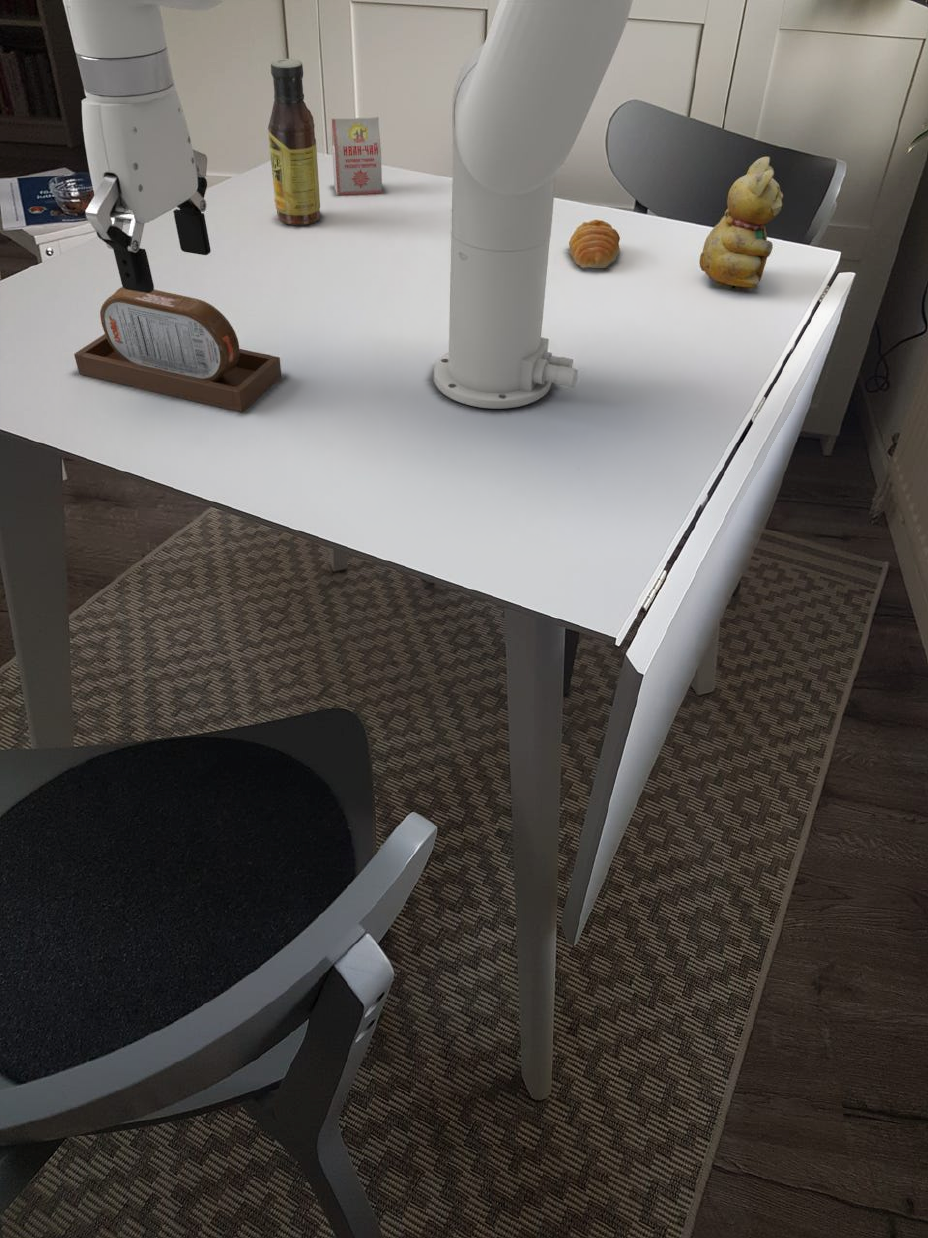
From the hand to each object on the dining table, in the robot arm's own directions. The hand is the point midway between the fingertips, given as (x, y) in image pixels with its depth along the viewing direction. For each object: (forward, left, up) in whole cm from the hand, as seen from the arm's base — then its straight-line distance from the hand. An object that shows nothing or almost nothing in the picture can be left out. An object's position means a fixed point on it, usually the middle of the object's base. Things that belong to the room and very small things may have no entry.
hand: (168, 270), depth 93 cm
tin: (+1, +1, -11) cm, 11 cm away
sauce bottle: (+11, -45, -12) cm, 48 cm away
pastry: (-31, -50, -12) cm, 60 cm away
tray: (+1, 0, -11) cm, 11 cm away
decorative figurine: (-49, -49, -12) cm, 70 cm away
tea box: (+9, -60, -12) cm, 62 cm away
